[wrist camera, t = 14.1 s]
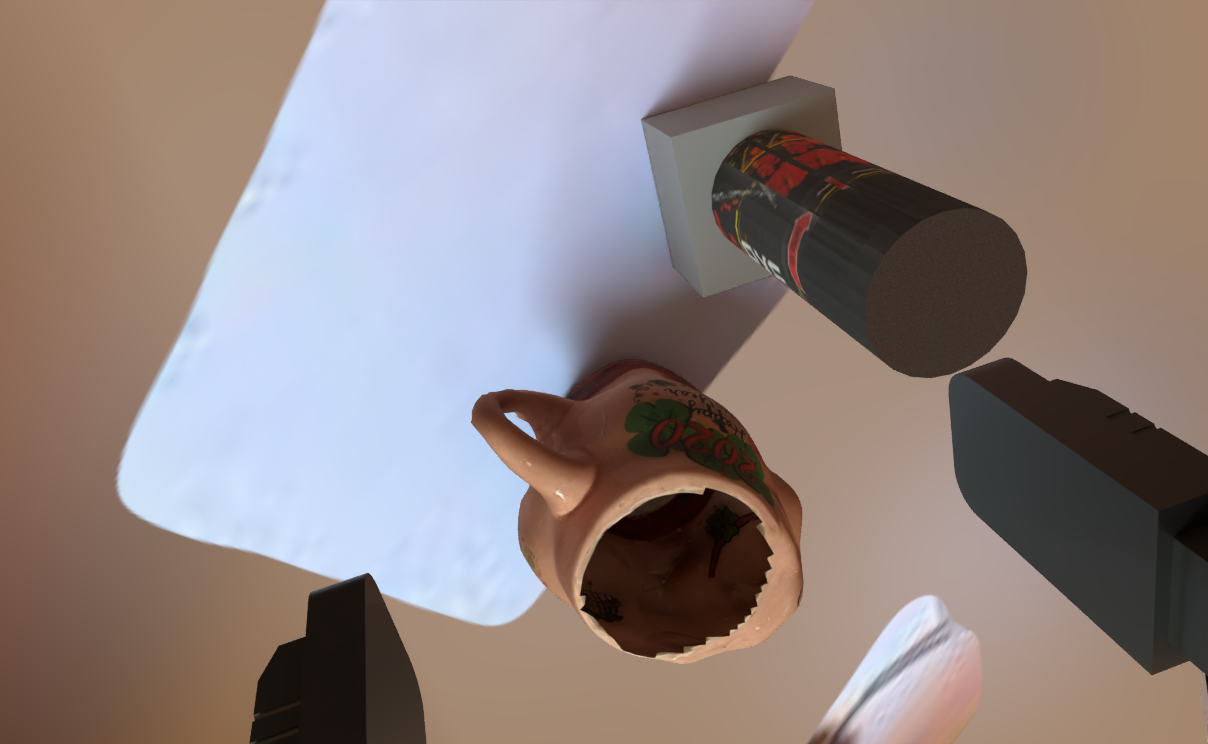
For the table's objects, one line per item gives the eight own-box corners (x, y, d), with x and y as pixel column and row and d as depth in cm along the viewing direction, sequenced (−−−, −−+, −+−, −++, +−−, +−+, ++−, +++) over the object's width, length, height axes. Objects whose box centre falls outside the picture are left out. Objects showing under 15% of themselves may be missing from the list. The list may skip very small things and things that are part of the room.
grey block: (641, 119, 47) (670, 137, 42) (790, 75, 48) (834, 88, 43) (673, 266, 50) (703, 297, 46) (810, 223, 51) (853, 249, 47)
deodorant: (852, 169, 45) (1059, 261, 32) (781, 274, 46) (951, 404, 33) (759, 103, 43) (941, 174, 29) (687, 216, 44) (830, 331, 31)
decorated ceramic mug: (390, 443, 51) (400, 602, 38) (504, 251, 48) (555, 356, 36) (682, 567, 59) (768, 732, 46) (794, 409, 56) (918, 539, 44)
